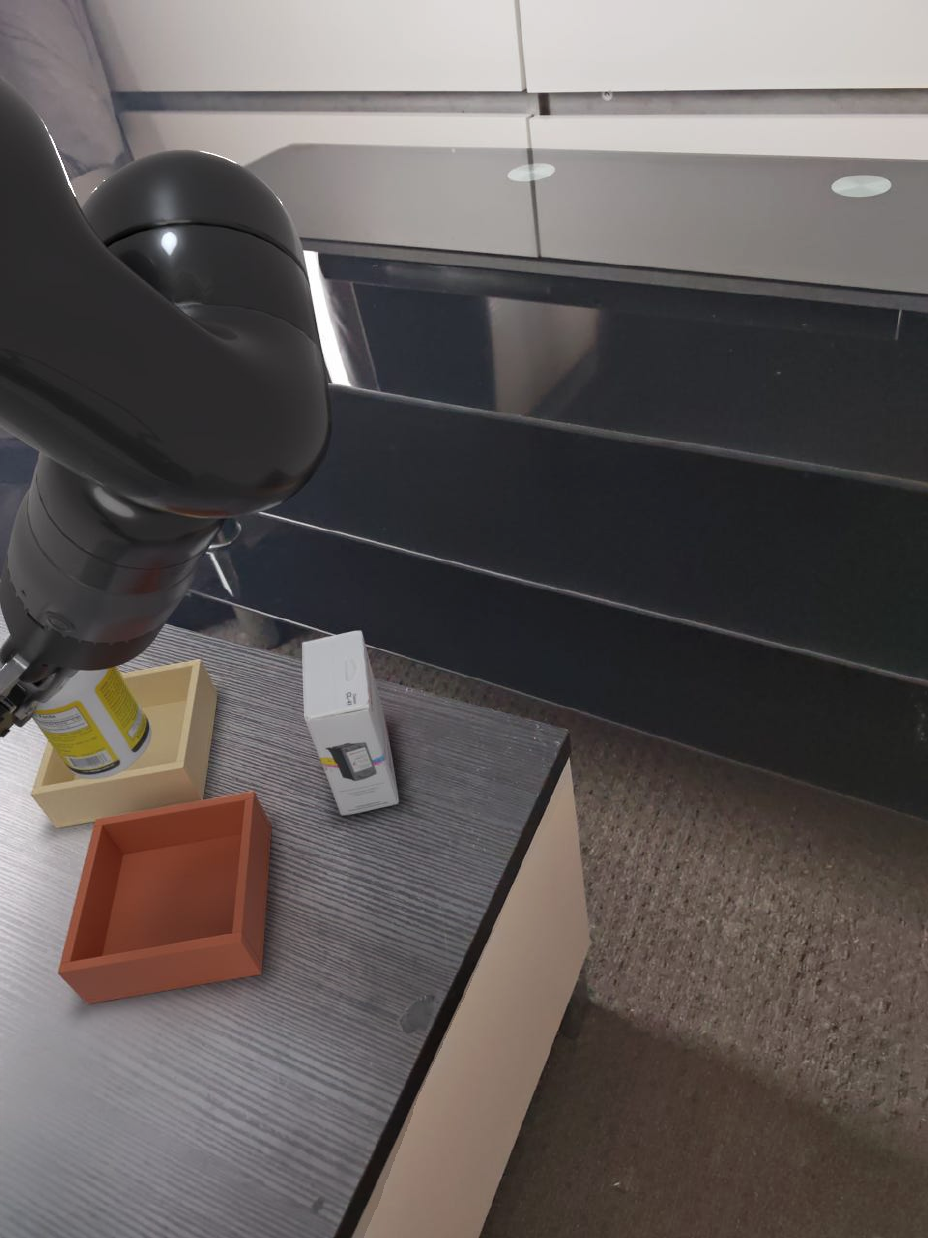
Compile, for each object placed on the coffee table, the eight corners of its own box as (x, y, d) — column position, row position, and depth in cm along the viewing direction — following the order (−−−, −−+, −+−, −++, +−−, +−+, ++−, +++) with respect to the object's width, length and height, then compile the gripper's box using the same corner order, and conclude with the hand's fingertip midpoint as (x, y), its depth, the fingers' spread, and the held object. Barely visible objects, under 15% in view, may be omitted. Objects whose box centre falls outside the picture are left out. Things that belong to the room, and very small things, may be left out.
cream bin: (202, 802, 75) (183, 767, 72) (56, 828, 76) (30, 795, 72) (218, 693, 84) (201, 658, 81) (87, 717, 85) (65, 683, 82)
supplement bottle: (129, 702, 60) (61, 588, 53) (169, 742, 56) (103, 625, 50) (53, 753, 57) (-27, 640, 51) (91, 797, 54) (11, 683, 48)
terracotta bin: (261, 974, 63) (240, 941, 60) (87, 1004, 63) (57, 973, 60) (272, 825, 72) (254, 790, 69) (119, 853, 73) (94, 819, 70)
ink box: (334, 738, 78) (296, 638, 70) (392, 725, 78) (361, 624, 70) (340, 821, 72) (299, 721, 64) (403, 806, 72) (370, 705, 64)
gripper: (149, 418, 44) (89, 559, 58) (-105, 605, 36) (-106, 720, 49) (265, 525, 45) (180, 640, 59) (45, 732, 37) (4, 811, 50)
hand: (49, 676), depth 54 cm, fingers closed on supplement bottle, 5 cm apart
